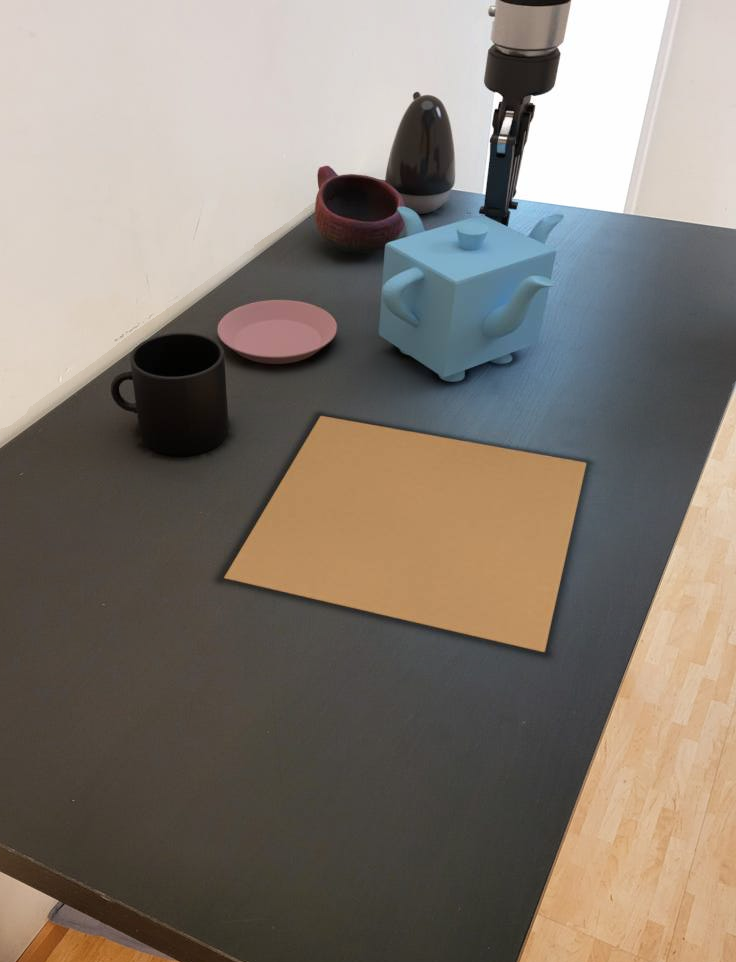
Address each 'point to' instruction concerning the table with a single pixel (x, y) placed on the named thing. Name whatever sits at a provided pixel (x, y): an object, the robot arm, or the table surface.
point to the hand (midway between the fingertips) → (489, 265)
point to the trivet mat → (419, 530)
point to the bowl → (357, 211)
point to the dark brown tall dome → (423, 155)
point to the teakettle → (465, 291)
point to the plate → (277, 331)
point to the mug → (177, 393)
